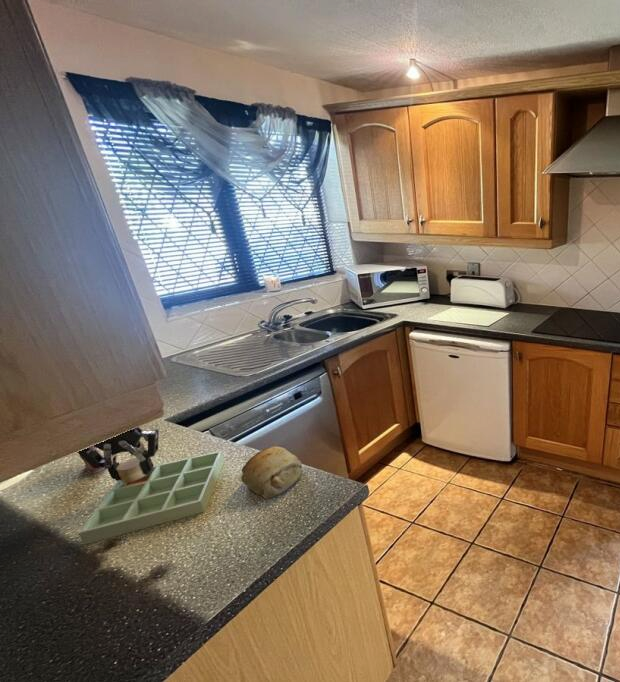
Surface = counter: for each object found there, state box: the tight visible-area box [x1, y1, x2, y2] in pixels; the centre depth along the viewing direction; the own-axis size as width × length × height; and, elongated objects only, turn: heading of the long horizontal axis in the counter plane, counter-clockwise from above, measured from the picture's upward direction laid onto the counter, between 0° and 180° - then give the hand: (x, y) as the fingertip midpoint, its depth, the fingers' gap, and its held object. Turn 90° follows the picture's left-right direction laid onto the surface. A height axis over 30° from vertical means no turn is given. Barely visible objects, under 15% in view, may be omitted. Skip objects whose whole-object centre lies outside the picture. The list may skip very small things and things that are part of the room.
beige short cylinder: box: [116, 457, 146, 483], centre depth 90 cm, size 5×5×4 cm
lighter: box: [79, 447, 107, 476], centre depth 97 cm, size 8×3×10 cm, turn 55°
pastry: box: [240, 445, 303, 500], centre depth 92 cm, size 14×12×8 cm
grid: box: [77, 450, 226, 545], centre depth 88 cm, size 20×20×3 cm
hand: (134, 474), depth 90 cm, fingers closed on beige short cylinder, 4 cm apart
